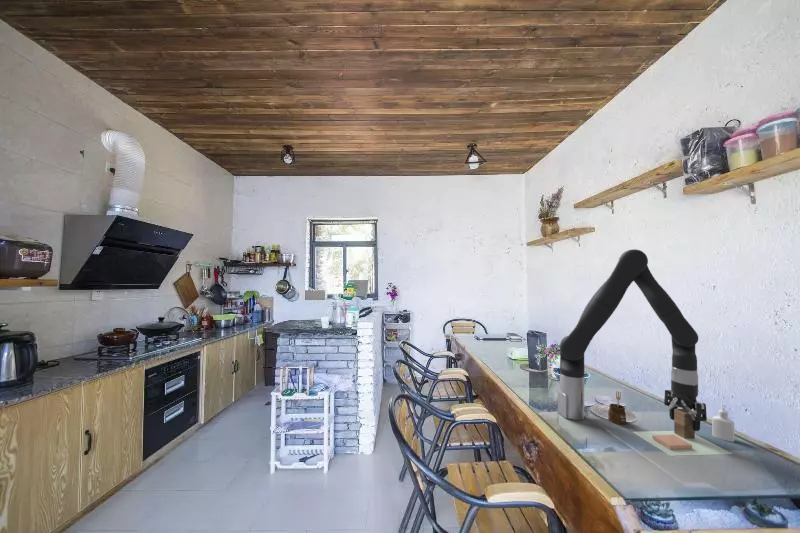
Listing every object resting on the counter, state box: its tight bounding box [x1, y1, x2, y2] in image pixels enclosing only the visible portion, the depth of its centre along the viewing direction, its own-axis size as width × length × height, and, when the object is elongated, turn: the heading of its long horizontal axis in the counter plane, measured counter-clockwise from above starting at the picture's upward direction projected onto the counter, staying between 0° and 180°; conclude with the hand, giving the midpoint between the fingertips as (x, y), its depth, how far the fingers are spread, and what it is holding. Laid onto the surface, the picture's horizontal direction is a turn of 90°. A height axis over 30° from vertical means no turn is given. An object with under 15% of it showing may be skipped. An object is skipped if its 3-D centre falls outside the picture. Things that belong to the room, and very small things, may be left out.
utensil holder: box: [607, 390, 627, 425], centre depth 132 cm, size 6×6×12 cm
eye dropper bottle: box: [711, 406, 735, 443], centre depth 119 cm, size 4×6×12 cm
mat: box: [632, 430, 733, 457], centre depth 116 cm, size 22×16×1 cm
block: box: [673, 408, 696, 439], centre depth 120 cm, size 4×4×9 cm
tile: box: [652, 435, 692, 449], centre depth 114 cm, size 1×7×8 cm
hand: (684, 424), depth 120 cm, fingers open, 8 cm apart
